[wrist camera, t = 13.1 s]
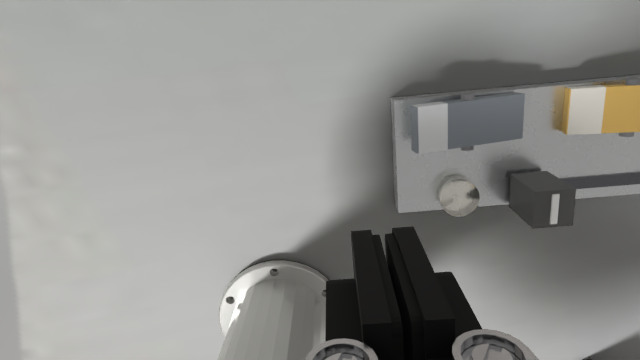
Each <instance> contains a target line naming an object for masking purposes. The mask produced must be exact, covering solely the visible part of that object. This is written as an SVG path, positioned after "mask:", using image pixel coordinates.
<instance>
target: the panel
mask: <svg viewBox="0 0 640 360" xmlns="http://www.w3.org/2000/svg"><path fill="white" fill-rule="evenodd" d="M630 78H640V75H629V76H619V77H608V78H597V79H586V80H575V81H564V82H554V83H543V84H532V85H521V86H510V87H500V88H489V89H478V90H467V91H456V92H446V93H435V94H424V95H413V96H402V97H392V98H391V121H392V145H393V169H394V192H395V206H396V208H397V211H398V213H406V212H418V211H431V210H445V211H446V212H447V213H448V214H449V215H452V216H455V217H462V216H466V215H468V214H470V213H472V212H473V211H474V210H475V209H476V207H481V206H494V205H506V204H509V197H510V176H511V174H515V173H527V172H539V171H548V172H549V173H551V174H553V175H554V176H556V177H558V178H559V179H561V180H563V181H564V182H566V183H568V184H569V185H571V186H573V187H574V188H576V196H575V199H582V198H594V197H607V196H619V195H632V194H640V132H634V136H633V137H621V136H619V133H601V134H577V135H566V134H564V133H563V132H562V119H563V108H564V96H565V87H577V86H593V85H614V84H625V81H626V79H630ZM513 92H518V93H524V94H525V102H524V120H523V138H522V139H516V140H509V141H502V142H495V143H489V144H482V145H475V146H474V150H471V151H463V150H461V148H454V149H448V150H443V151H436V152H429V153H422V154H417V153H415V152H413V151H412V149H411V113H410V106H411V105H416V104H424V103H432V102H442V101H450V100H458V99H461V94H468V93H472V94H475V97H482V96H489V95H497V94H505V93H513Z"/></svg>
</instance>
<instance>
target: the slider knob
mask: <svg viewBox="0 0 640 360" xmlns="http://www.w3.org/2000/svg"><path fill="white" fill-rule="evenodd" d="M575 196H576V188H574V187H573V186H571V185H569V184H568V183H566V182H564V181H563V180H561V179H559V178H558V177H556V176H554V175H553V174H551V173H549V172H548V171H539V172H527V173H515V174H511V176H510V197H509V207H510V208H511V209H512V210H513V211H514V212H515V213H517V214H518V215H519V216H520V217H521V218H522V219H523V220H524V221H525V222H526V223H527V224H528V225H530V226H531V227H532V228H544V227H557V226H570V225H573V216H574V206H575Z"/></svg>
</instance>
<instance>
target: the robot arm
mask: <svg viewBox="0 0 640 360" xmlns="http://www.w3.org/2000/svg"><path fill="white" fill-rule="evenodd" d="M351 241H352V253H353V266H354V279H343V280H328V279H327V278H326V277H325V276H324V275H322V274H321V273H320V272H318V271H317V270H315V269H313V268H311V267H309V266H307V265H304V264H301V263H297V262H292V261H285V260H277V261H267V262H263V263H259V264H256V265H254V266H251V267H249V268H247V269H246V270H244V271H243V272H241V273H240V274H238V275H237V276H236V277H235V278H234V279H233V280H232V281H231V283H230V284H229V286H228V287H227V289H226V291H225V293H224V295H223V298H222V301H221V305H220V309H219V321H220V326H221V330H222V332H223V334H224V337H225V339H224V342H223V345H222V348H221V351H220V354H219V357H218V360H539V359H538V358H537V357H536V356H535V355H534V354H533V353H532V351H531V350H530V349H529V348H528V347H527V346H526V345H525V344H523V343H522V342H521V341H520V340H518V339H516V338H515V337H513V336H511V335H509V334H506V333H503V332H500V331H495V330H488V329H482V328H481V326H480V324H479V322H478V320H477V318H476V316H475V314H474V313H473V311H472V309H471V307H470V305H469V303H468V301H467V299H466V298H465V296H464V294H463V292H462V290H461V288H460V286H459V284H458V283H457V281H456V279H455V277H454V275H453V274H452V272H439V273H434V271H433V269H432V266H431V264H430V262H429V260H428V258H427V255H426V253H425V251H424V249H423V247H422V244H421V242H420V240H419V238H418V236H417V233H416V231H415V229H414V227H402V228H393V229H392V234H385V247H386V258H385V255H384V251H383V247H382V243H381V239H380V236H379V235H372V233H371V230H363V231H351ZM273 268H275V269H273ZM325 289H326V290H325Z"/></svg>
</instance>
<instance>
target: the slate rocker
mask: <svg viewBox="0 0 640 360" xmlns="http://www.w3.org/2000/svg"><path fill="white" fill-rule="evenodd" d="M524 102H525V94H524V93H518V92H513V93H505V94H497V95H489V96H482V97H475V94H472V93H468V94H461V99H458V100H450V101H442V102H432V103H424V104H416V105H411V106H410V113H411V149H412V151H413V152H415V153H417V154H422V153H429V152H436V151H443V150H448V149H454V148H461V150H463V151H471V150H474V146H475V145H482V144H489V143H495V142H502V141H509V140H516V139H522V138H523V120H524Z"/></svg>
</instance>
